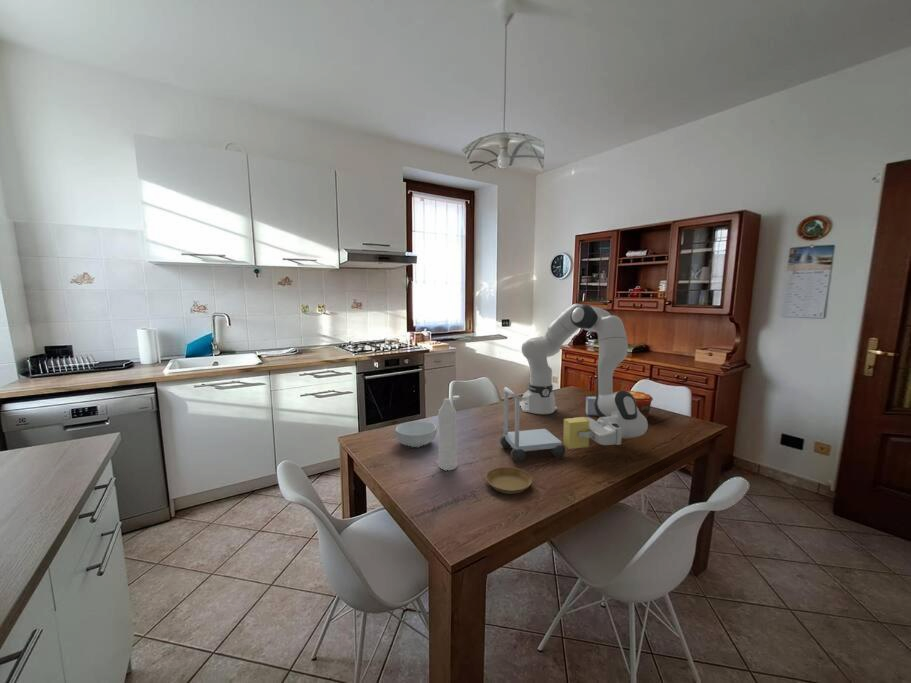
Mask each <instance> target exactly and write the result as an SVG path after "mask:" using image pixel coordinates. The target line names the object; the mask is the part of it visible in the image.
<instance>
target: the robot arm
mask: <svg viewBox="0 0 911 683" xmlns="http://www.w3.org/2000/svg"><path fill="white" fill-rule="evenodd" d="M579 329H582V330H584V331H587V332H594V333H596V334H597V342H598V360H597V365H596V396H595V397H596V399H595V404H594V407H595V410H596V412H597V414H598V415H597V416H599V417H598V418H597V420H595V419H593V418H592V417H588V416H582V417H583V418H585V419H587V420H589V421H590V422H589V431H588V432H582V431H578V432H577V436H579V437H586V438H589V439H591V440H592V441H594V442H596V443H597V444H599V445H601V446H610V445H611V446H612V445H613V446H614V445H616V446H620V445H621V444H622V439H630V438H637V437H641V436H642V435H644V434H646V432H647V430H648V427H649V424H648V423H649V422H648V420H647V419H648V418H645V416H643V415H642V414H641V413H640V411H639V410H638V408H637V405H636V401H635V398H634V397H633V395H632V394H630V393H629V392H627V391H628V390H618V391H615V392H614V391H613V389H614V388H613V387H614V386H613V384H614V383H613V375H614V372H615V370H616V369H617V368H618V366H619V365H620V364H621V363H622V362H623V361H624V360H625V359H626V358H627V356H628V353H629V345H628V337H627V333H626V329H625V326H624V323H623V320H622V319H621V318H620V317H619V316H617V315H614V314H613V313H612V312H610V311H608V310H605V308H604V309H603V308H600V307H598V306H593V305H590V304H584V303H581V304H580V303H574V304H571V305H570V306H568V307H566V309H564V310H562V311H561V313H560V314H558V315H557V316H556V318H554V319H553V320H552V321H551V322H550V323H549V324H548V326H547V329H546V330H547V331H546V332H545V333H544V334H543V335H542V336H537V337H531V338H529V339H527V340H525V341H524V342H523V343H522V345H521V353H522V355H523V357H524V358H525V359H526V360H527V362H528V366H529V383H528V390H526V391H525V392H524V393H523V395H522V396H521V400H520V406H521V407H520V408H521V410H522V412H525V413H530V414H531V413H532V414H537V415H549V414H552V413H555V411H556V410H558V407H557V406H556V399H555V398H556V397H555V393H554V392H553V390H554V389H553V388H554V386H553V370H552V367H550V365H549V363H548V358H549V357H553V356H555V355H556V354H558V353H559V352H560V351H561V348H562V346H563V344H565V342H566V341H568V339H569V338H570V337H571V336H572V335H573V334H575V333H576V332H577V331H578V330H579ZM574 418H579V417H578V416H577V417H575V416H574Z"/></svg>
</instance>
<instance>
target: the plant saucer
mask: <svg viewBox="0 0 911 683" xmlns="http://www.w3.org/2000/svg"><path fill="white" fill-rule="evenodd" d="M485 479H486V481H487V483H488V484H489V485H490V486H491V487H492V488H493V489H494V490H495V491H497V492H499V493H502V494H505V495H507V494H509V495H515V494H520V493H522V492H524V491H525V490H527V489H528V488H529V487H530V486H531V485H532V483H533V478H532V476H531V475H530V474H529V473H528V472H527V471H525V470H523V469H520V468H517V467H507V466H503V467H496V468H493V469H491V470H490V471H488V472H487V473H486V475H485Z"/></svg>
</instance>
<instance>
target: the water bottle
mask: <svg viewBox="0 0 911 683" xmlns="http://www.w3.org/2000/svg"><path fill="white" fill-rule="evenodd" d="M452 400H454V401H458V400H461V399H460V395H453V396H452ZM452 400H451V398H450V397H448V398H444V399H443V401H442V402H443V403H442V405H441V407H440V408H439V409H438V413H437V416H438V417H437V419H438V420H437V421H438V422H437V423H438V426H437V427H438V431H437V432H438V434H437V435H438V468H439V467H440V468H441V469H440V468H439V469H440V470H442V469H443V470H442V471H447V470H448V471H452V470H455V469H457V466H458V460H457V459H458V455H457V453H458V446H457V445H458V441H457V437H458V436H457V435H458V434H457V430H458V428H457V417H458V416H457V415H458V414H457V413H458V412H457V411H456V410H457V409H455V408H456V407H454V405H453V404H452Z"/></svg>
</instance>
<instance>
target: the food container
mask: <svg viewBox="0 0 911 683" xmlns="http://www.w3.org/2000/svg"><path fill="white" fill-rule="evenodd" d="M626 391H627V392H629V393H630V394H632V395H633V397H634V398H635V401H636V405H637V408H638V410H639V411H640V413H641V414H642V415H643V416H645V418H646V419H648V418H649V415H650V409H651V406H652V401H653V400H654V399H653V396H651V395H650V394H648V393H645V392H642V391H634V390H626Z"/></svg>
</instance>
